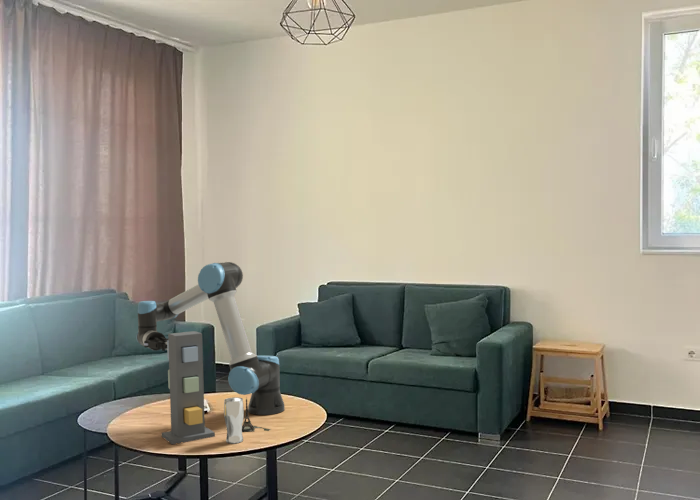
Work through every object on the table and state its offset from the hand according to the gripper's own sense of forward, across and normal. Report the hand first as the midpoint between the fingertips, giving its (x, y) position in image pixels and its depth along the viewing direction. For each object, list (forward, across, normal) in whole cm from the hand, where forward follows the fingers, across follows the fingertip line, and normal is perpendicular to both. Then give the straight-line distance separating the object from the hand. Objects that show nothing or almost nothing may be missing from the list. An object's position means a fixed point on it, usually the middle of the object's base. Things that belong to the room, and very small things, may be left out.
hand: (172, 347), depth 263 cm
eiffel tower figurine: (+21, -22, -32) cm, 44 cm away
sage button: (+13, 0, -14) cm, 20 cm away
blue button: (+13, 0, -3) cm, 14 cm away
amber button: (+16, 0, -25) cm, 30 cm away
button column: (+15, 0, -31) cm, 35 cm away
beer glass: (+31, -12, -31) cm, 46 cm away
